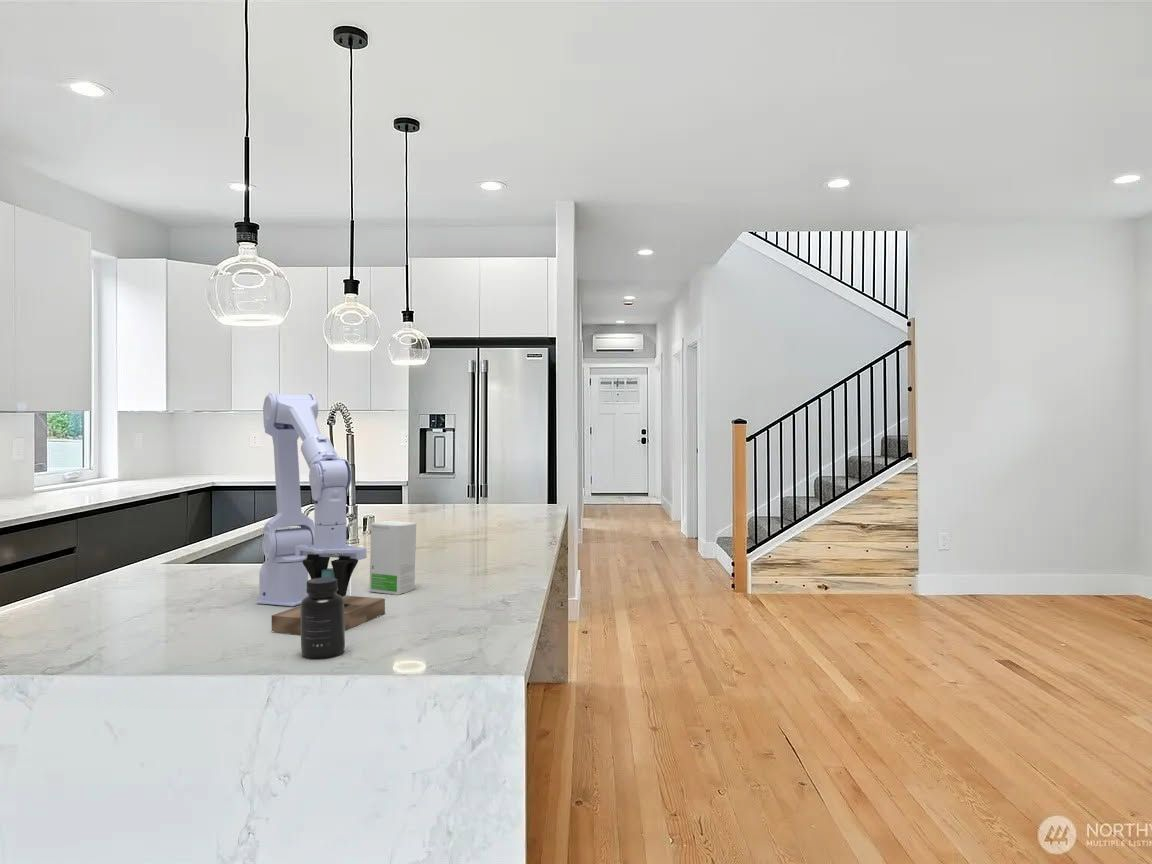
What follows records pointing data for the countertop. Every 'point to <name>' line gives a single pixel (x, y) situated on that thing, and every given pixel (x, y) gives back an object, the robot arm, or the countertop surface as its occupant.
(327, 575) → the peg
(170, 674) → the countertop surface
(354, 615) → the socket board
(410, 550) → the skincare box
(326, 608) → the supplement bottle
